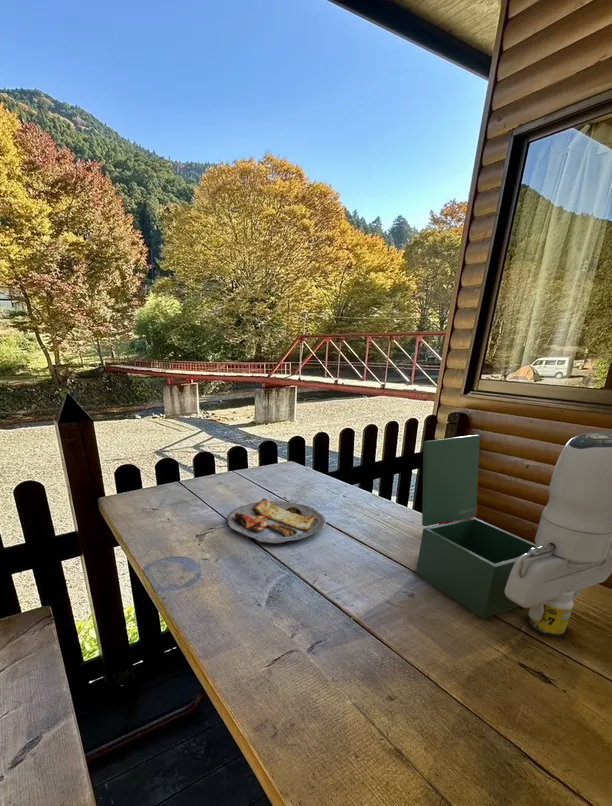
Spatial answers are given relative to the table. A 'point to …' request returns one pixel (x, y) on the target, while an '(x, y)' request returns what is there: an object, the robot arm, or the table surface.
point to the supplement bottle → (555, 615)
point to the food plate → (276, 519)
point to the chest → (471, 563)
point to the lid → (450, 479)
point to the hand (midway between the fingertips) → (548, 613)
